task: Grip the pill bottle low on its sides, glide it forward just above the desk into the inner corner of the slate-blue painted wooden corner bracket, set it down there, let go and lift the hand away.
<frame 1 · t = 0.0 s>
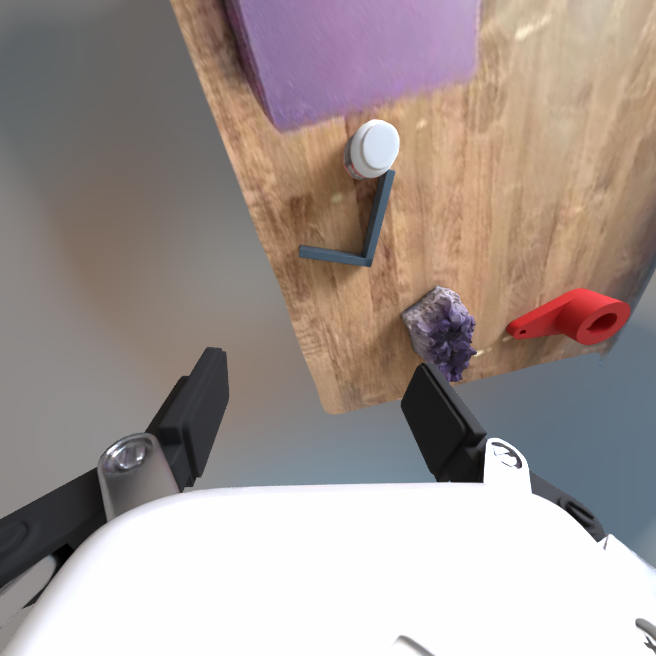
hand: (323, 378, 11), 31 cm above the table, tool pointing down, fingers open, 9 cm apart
corner: (338, 217, 36), on the table
lever: (547, 315, 50), on the table
pill bottle: (360, 157, 33), on the table
geode: (432, 328, 49), on the table
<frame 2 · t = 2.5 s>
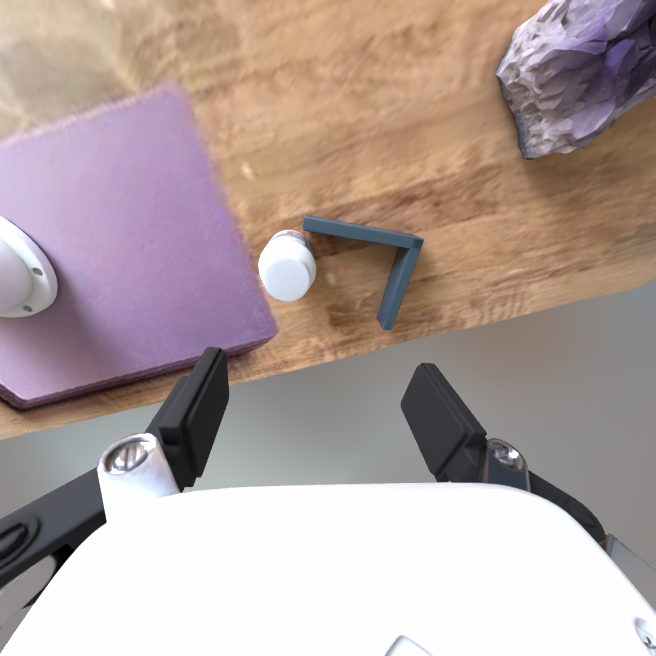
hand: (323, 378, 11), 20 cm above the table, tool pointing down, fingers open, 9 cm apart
corner: (351, 276, 30), on the table
pill bottle: (290, 252, 28), on the table
geode: (596, 53, 21), on the table
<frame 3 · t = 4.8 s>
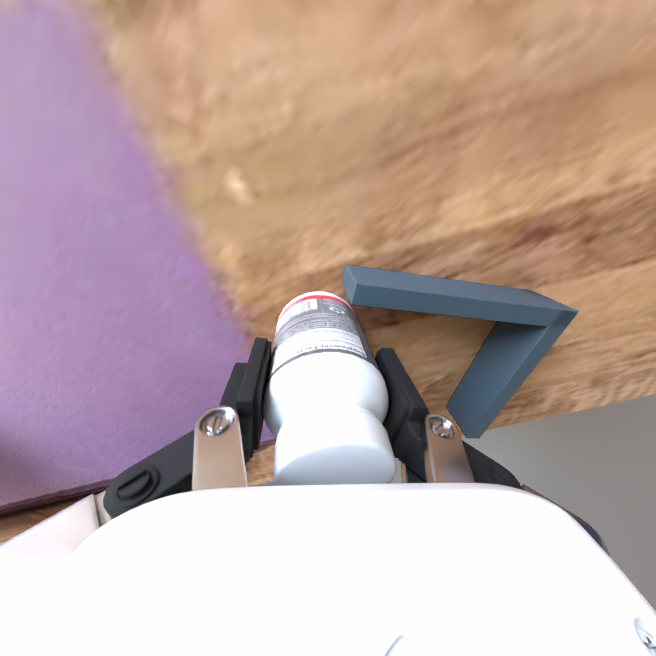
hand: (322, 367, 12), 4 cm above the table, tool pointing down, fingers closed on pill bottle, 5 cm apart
corner: (416, 355, 18), on the table
pill bottle: (317, 324, 16), on the table, touching gripper
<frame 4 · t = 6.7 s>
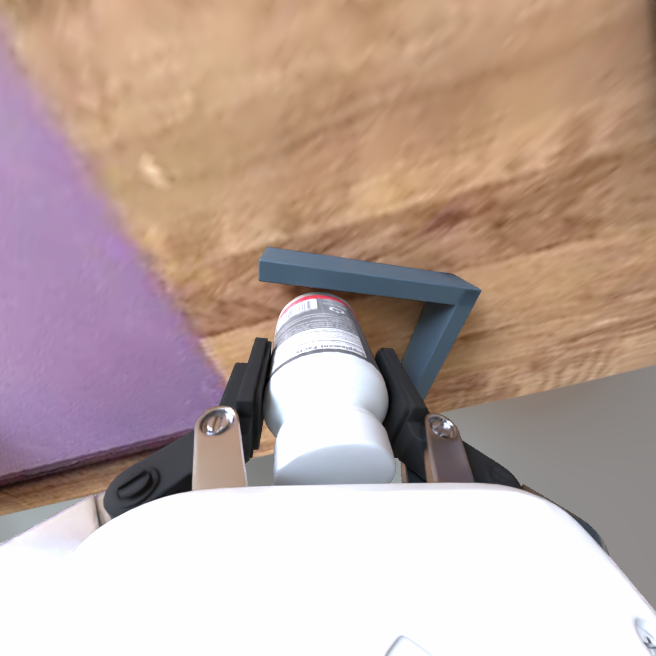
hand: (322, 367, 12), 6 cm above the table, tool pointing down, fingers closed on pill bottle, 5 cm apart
corner: (352, 337, 19), on the table
pill bottle: (317, 324, 16), point 2 cm above the table, touching gripper
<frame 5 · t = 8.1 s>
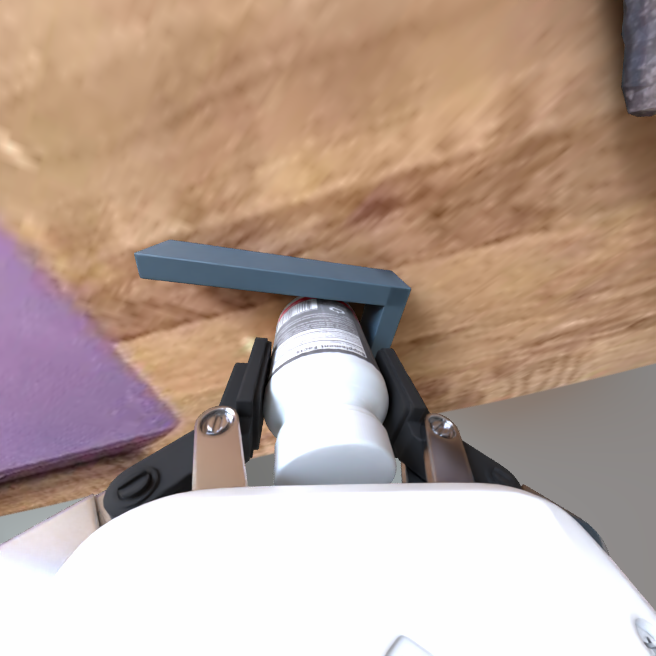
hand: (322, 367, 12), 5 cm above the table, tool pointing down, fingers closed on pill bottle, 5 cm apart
corner: (287, 341, 17), on the table
pill bottle: (317, 324, 16), point 1 cm above the table, touching gripper
when the fingers open (4 cm above the table, at t = 8.9 s): pill bottle stays where it is, on the table.
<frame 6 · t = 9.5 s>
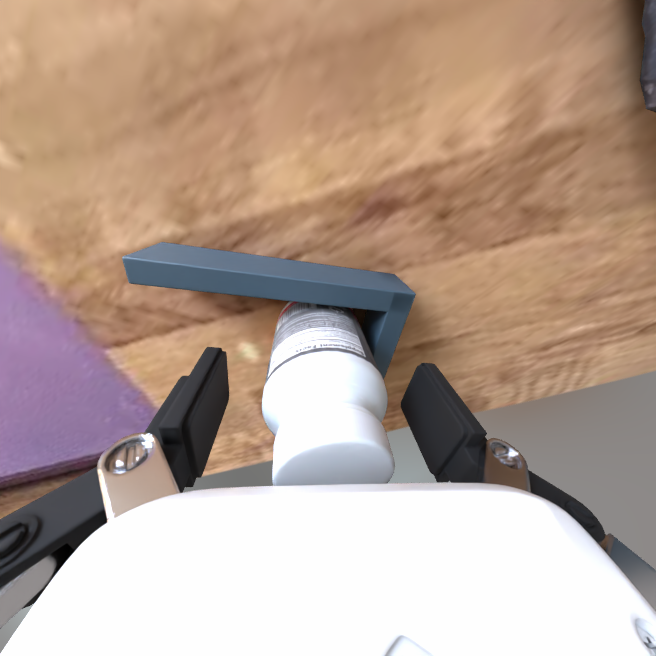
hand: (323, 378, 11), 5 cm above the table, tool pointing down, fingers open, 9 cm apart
corner: (286, 347, 16), on the table
pill bottle: (317, 324, 16), on the table
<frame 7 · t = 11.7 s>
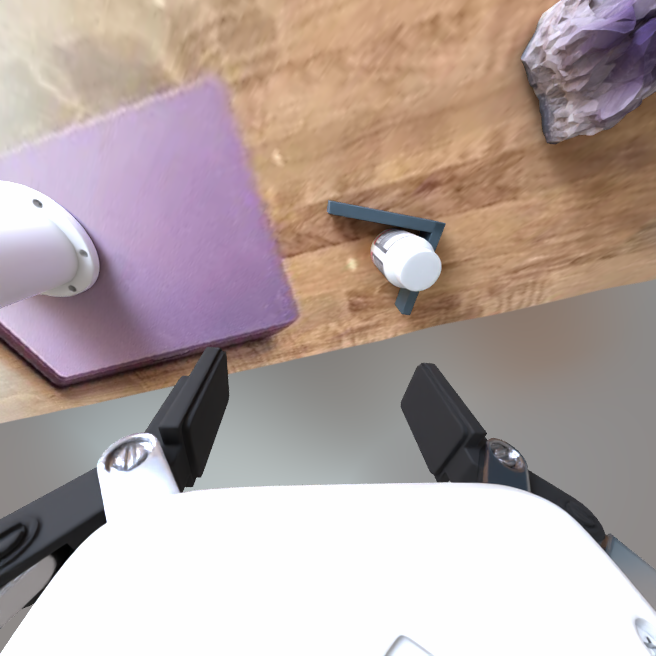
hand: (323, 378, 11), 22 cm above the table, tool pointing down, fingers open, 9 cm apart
corner: (372, 262, 31), on the table
pill bottle: (389, 249, 30), on the table
geode: (623, 36, 22), on the table
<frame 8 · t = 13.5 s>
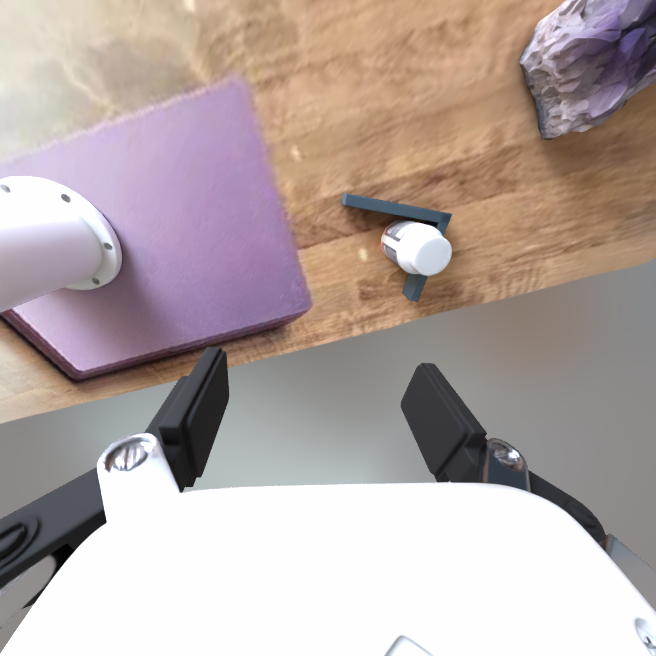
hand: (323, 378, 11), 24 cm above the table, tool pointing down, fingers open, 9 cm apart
corner: (381, 252, 33), on the table
pill bottle: (398, 239, 32), on the table
geode: (609, 42, 24), on the table
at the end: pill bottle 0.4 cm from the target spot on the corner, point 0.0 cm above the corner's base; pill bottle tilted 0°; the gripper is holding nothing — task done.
